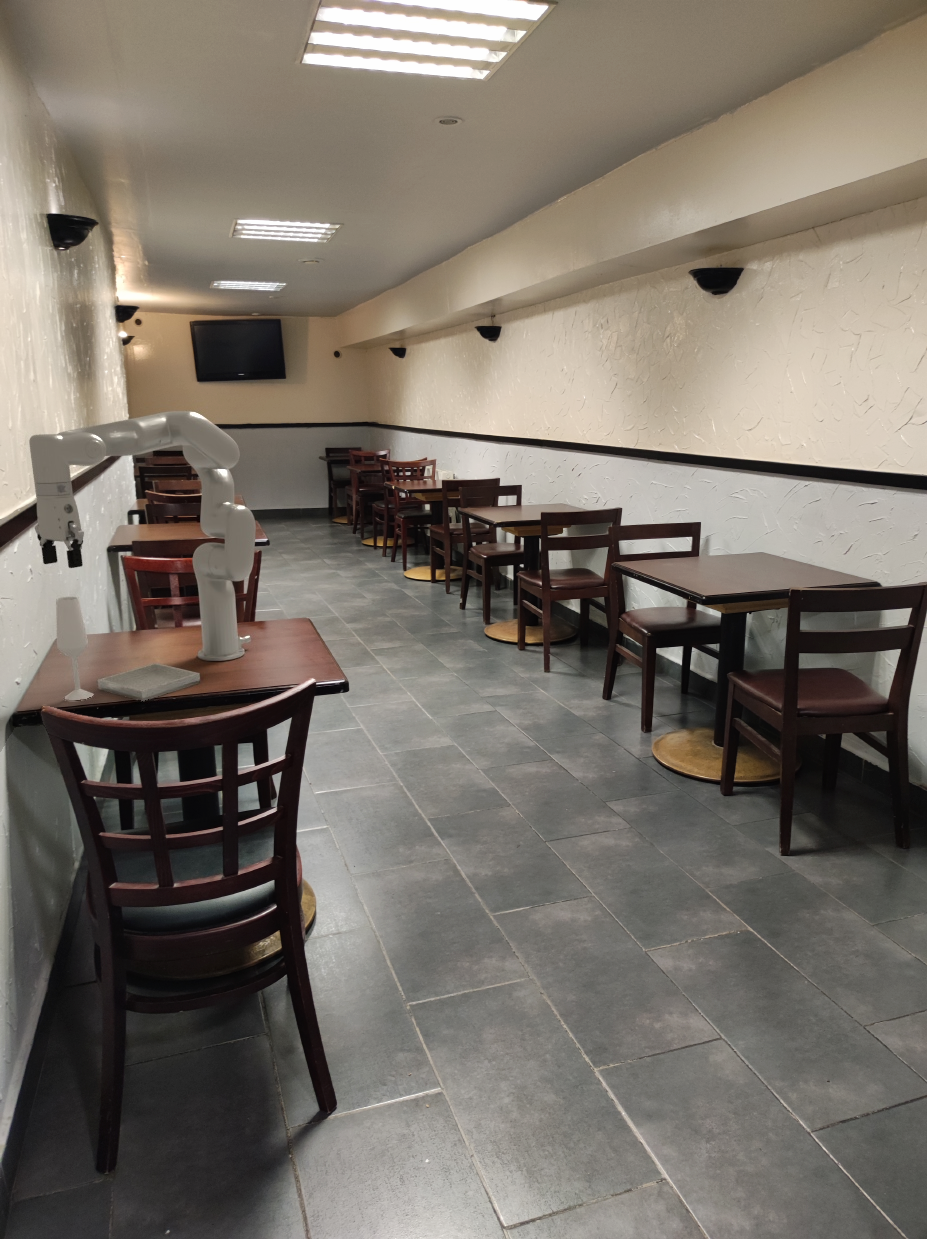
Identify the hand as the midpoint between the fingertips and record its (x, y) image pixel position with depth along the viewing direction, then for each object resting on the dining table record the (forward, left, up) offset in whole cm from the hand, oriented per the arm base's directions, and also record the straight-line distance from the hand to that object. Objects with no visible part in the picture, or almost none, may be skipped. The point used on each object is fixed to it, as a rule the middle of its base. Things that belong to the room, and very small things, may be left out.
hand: (63, 565), depth 195 cm
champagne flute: (0, 0, -32) cm, 32 cm away
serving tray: (-15, +7, -32) cm, 36 cm away
